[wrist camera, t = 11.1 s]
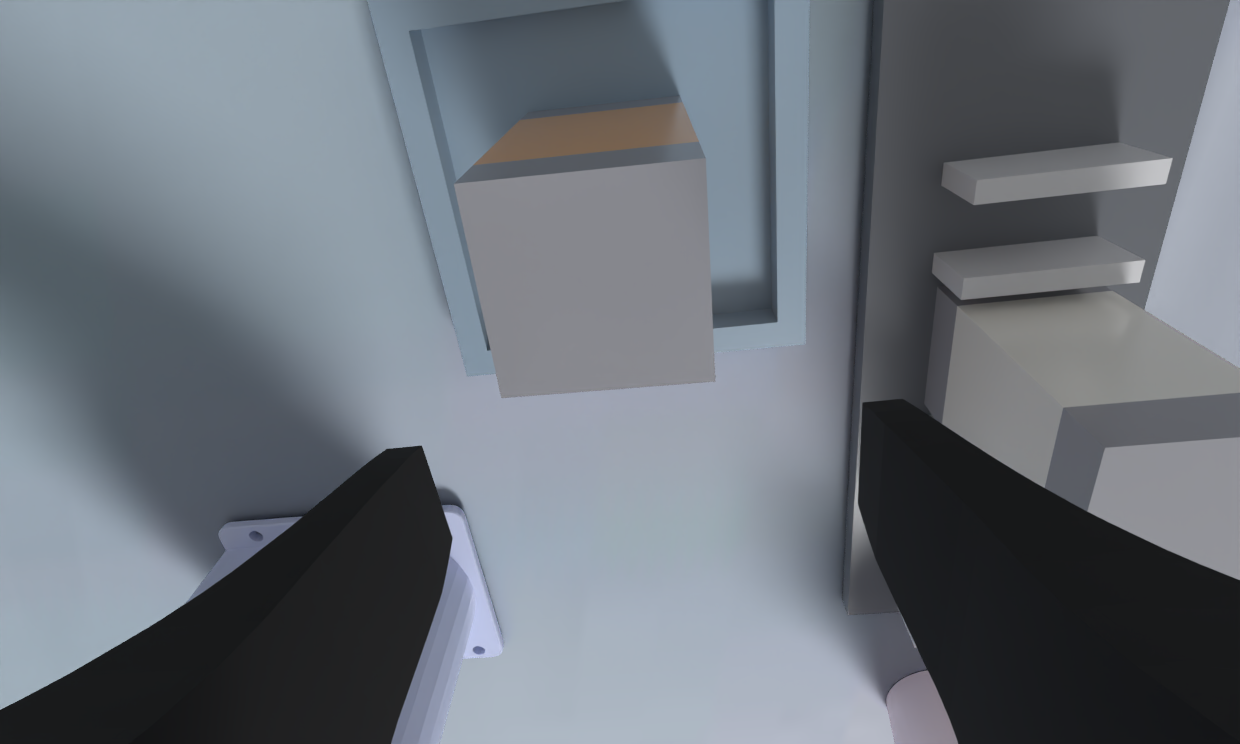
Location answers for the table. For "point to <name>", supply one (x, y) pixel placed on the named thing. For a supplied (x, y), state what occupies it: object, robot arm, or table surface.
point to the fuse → (1098, 411)
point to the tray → (606, 73)
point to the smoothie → (918, 712)
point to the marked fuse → (593, 249)
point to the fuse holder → (1011, 174)
